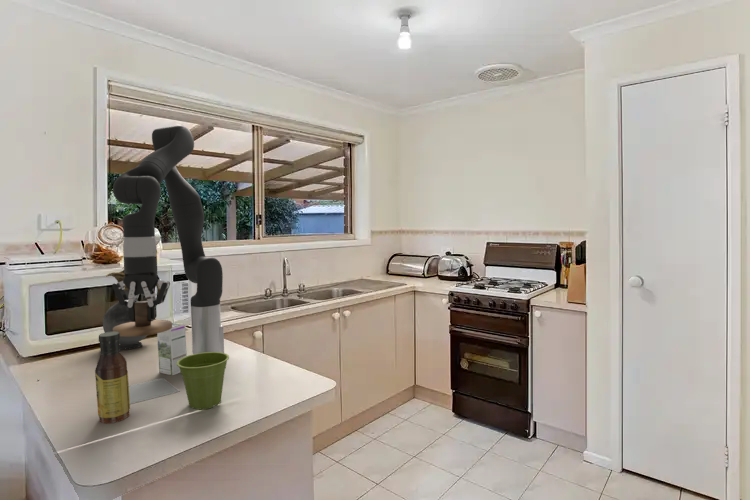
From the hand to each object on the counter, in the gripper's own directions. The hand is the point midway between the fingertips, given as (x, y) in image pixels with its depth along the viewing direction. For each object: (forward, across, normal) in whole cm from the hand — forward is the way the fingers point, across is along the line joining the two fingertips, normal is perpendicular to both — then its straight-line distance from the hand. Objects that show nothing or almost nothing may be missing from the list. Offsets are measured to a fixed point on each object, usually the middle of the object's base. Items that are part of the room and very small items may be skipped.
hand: (143, 320), depth 112 cm
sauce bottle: (+19, -1, -15) cm, 25 cm away
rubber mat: (+19, -1, +1) cm, 19 cm away
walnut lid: (+2, 0, 0) cm, 2 cm away
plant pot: (+19, +17, -9) cm, 28 cm away
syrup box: (+19, +1, +16) cm, 25 cm away
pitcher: (+19, -23, +48) cm, 57 cm away
